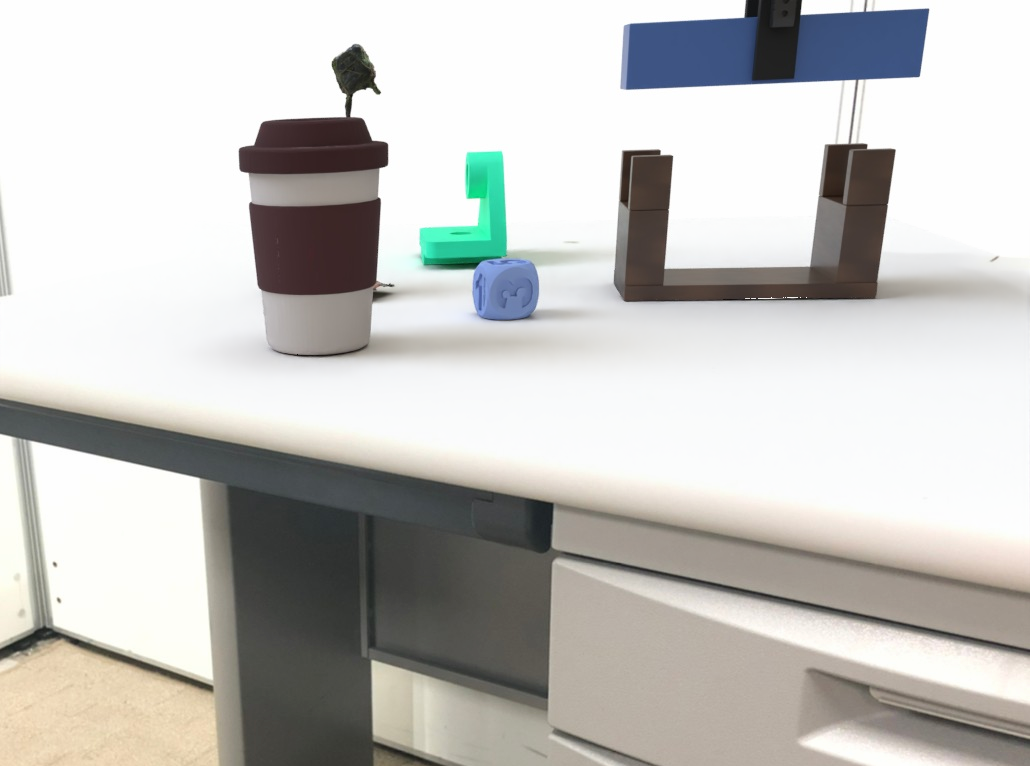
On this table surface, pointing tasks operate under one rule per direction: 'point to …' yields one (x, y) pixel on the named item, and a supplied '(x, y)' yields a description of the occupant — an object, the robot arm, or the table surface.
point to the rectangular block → (731, 44)
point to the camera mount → (491, 231)
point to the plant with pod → (355, 83)
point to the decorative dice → (505, 289)
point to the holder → (832, 273)
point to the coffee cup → (315, 230)
